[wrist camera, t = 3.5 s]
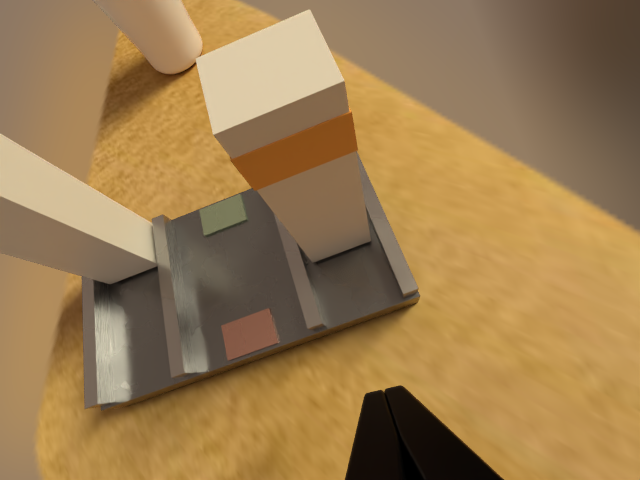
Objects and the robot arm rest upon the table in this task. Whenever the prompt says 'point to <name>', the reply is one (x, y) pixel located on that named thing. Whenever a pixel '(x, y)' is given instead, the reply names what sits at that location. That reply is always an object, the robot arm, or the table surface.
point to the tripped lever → (290, 131)
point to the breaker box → (230, 298)
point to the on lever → (67, 221)
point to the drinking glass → (157, 31)
